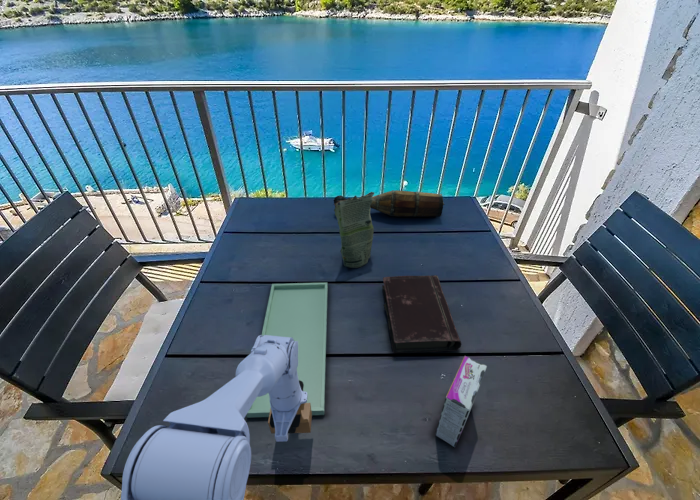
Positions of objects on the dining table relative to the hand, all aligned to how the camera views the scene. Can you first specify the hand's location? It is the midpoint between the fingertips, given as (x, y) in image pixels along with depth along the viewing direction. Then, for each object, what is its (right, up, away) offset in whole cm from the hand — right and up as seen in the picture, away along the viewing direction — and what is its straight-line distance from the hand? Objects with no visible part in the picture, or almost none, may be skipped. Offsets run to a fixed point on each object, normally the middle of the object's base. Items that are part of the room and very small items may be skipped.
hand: (291, 420), depth 71 cm
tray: (-3, +10, +24) cm, 26 cm away
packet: (0, -1, +1) cm, 1 cm away
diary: (+31, +15, +31) cm, 47 cm away
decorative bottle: (+27, +50, +75) cm, 94 cm away
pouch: (+14, +32, +52) cm, 63 cm away
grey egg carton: (+35, -4, +7) cm, 36 cm away
